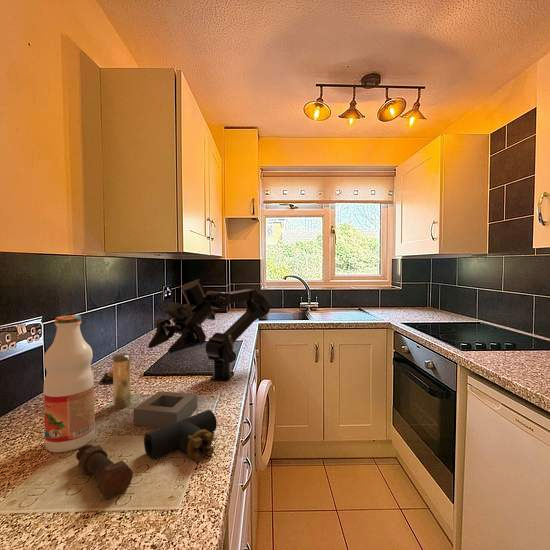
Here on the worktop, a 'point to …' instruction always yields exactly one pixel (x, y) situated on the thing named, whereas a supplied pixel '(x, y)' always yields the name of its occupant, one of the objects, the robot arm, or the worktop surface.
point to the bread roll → (108, 378)
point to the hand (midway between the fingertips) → (158, 349)
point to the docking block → (165, 409)
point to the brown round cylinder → (121, 380)
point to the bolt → (104, 470)
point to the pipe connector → (184, 437)
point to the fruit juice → (68, 388)
